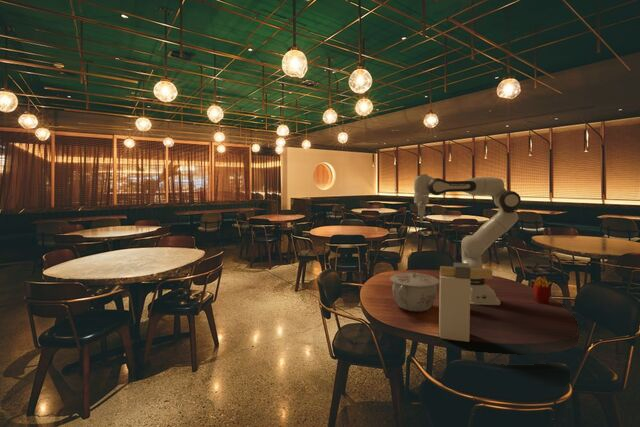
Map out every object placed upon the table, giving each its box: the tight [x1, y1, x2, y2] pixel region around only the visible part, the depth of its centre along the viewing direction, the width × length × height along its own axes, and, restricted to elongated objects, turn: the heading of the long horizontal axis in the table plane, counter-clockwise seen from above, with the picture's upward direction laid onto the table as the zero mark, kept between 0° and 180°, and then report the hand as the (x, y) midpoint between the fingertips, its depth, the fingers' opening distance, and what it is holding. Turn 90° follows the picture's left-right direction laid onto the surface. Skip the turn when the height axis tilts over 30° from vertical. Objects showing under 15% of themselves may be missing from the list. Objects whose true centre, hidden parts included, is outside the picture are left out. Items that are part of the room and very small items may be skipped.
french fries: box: [531, 276, 552, 304], centre depth 183 cm, size 9×8×15 cm
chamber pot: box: [389, 271, 440, 313], centre depth 175 cm, size 28×28×21 cm
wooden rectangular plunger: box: [439, 265, 493, 280], centre depth 138 cm, size 21×4×4 cm, turn 71°
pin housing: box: [438, 262, 471, 343], centre depth 140 cm, size 12×10×33 cm
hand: (421, 222), depth 194 cm, fingers open, 8 cm apart
